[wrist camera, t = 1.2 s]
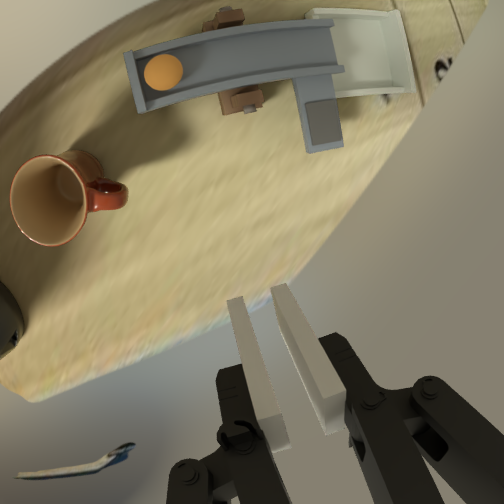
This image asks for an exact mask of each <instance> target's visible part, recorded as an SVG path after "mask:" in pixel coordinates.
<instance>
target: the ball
mask: <svg viewBox="0 0 504 504" xmlns="http://www.w3.org/2000/svg"><path fill="white" fill-rule="evenodd" d="M182 75H183V67H182V64H181V62H180V61H179V60H178V59H177V58H176V57H174V56H172V55H168V54H162V55H158V56H156V57H154V58H152V59H151V60H150V61H149V62H148V64H147V65H146V67H145V70H144V78H145V81H146V83H147V84H148V85H149V86H150V87H151V88H153V89H155V90H160V91H163V90H168V89H171V88H173V87H174V86H176V85H177V84H178V83H179V81H180V80H181V78H182Z"/></svg>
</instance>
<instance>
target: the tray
mask: <svg viewBox="0 0 504 504" xmlns="http://www.w3.org/2000/svg"><path fill="white" fill-rule="evenodd" d="M304 16H305V19H333V21H334V25H335V26H333V27H331V28H330V32H331V36H332V40H333V44H334V49H335V53H336V58H337V62H338V65H344V69H345V72H344V73H338V74H331V75H332V80H333V85H334V90H335V95H336V98H342V97H352V96H363V95H375V94H391V93H416V86H415V80H414V74H413V68H412V62H411V57H410V52H409V47H408V43H407V38H406V34H405V30H404V26H403V22H402V18H401V14H400V11H399V10H392V11H389V12H386V11H377V10H365V9H349V8H313V9H311V10H310V11H308V12H307V13H306V14H304Z"/></svg>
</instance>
